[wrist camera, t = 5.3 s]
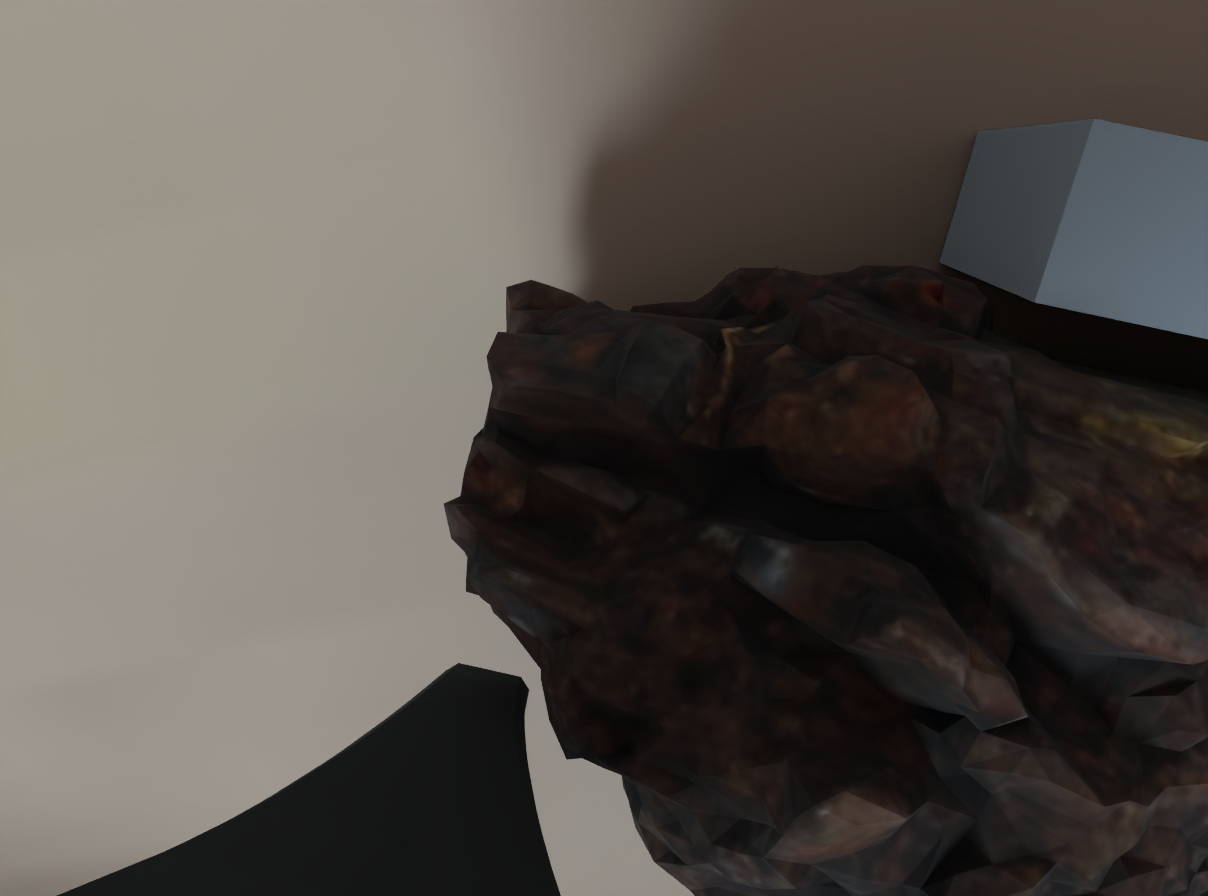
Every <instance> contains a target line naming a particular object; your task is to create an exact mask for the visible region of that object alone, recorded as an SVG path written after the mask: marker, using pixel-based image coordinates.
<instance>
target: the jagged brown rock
mask: <svg viewBox="0 0 1208 896" xmlns="http://www.w3.org/2000/svg"><path fill="white" fill-rule="evenodd" d="M506 321H507V332H498V333H497V335H496V337H495V340H494V342H493V344H492V346H491V348H490V350H489V353H488V355H487V362H488V368H489V372H490V376H491V381H492V386H493V388H492V392H491V397H490V402H489V407H488V412H487V416H486V420H485V424H484V428H483V429H482V430H481V431H480V432H479V433H478V434H477V435H476V436H475V437H474V439H473V443H472V446H471V450H470V454H469V457H468V461H467V465H466V468H465V472H464V478H463V484H462V491H461V496H460V497H458V498H455V499H453V500H451V501H449V502H447V503H444V507H445V512H446V516H447V521H448V525H449V530H450V534H451V538H452V539H453V540H454V541H455V542H456V543H457V544H458V546H459V547H460V548H461V549H462V550H463V551H464V552H465V554H466V556H467V557H468V559H467V576H466V592H470V593H473V594H477V595H479V596H480V597H481V598H482V599H483V600H485V601H486V602H487V603H488V604H490V605H491V608H492V610H493V612H494V613H495V614H496V615H497V616H498V617H499V618H500V619H501V620H502V621H503V622H504V623H505V624H506V625H507V626H508V627H509V628H510V629H511V631H512V632H513V633H514V635H515V636H516V637H517V639H518V640H519V641H520V643H521V644H522V645H523V646H524V648H525V649H526V650H527V652H528V653H529V654H530V656H531V657H532V658H533V660H534V661H535V662H536V663H537V665H538V666H539V667H540V669H541V681H542V686H543V691H544V696H545V701H546V706H547V711H548V715H549V720H550V723H551V725H552V727H553V729H554V732H555V734H556V736H557V739H558V741H559V743H560V745H561V748H562V750H563V752H564V754H565V757H566V759H577V758H583V759H585V760H587V761H590V762H592V763H594V764H596V765H598V766H601V767H603V768H605V769H608V770H610V771H613V772H615V773H618V774H620V775H622V780H623V787H624V790H625V792H626V795H627V797H628V800H629V804H630V808H631V812H632V816H633V820H634V824H635V827H636V829H637V831H638V833H639V835H640V836H641V838H642V840H643V842H644V844H645V846H646V848H647V849H648V851H649V853H650V855H651V857H652V859H653V861H654V862H655V863H656V864H658V865H659V866H660V867H661V868H663V869H664V870H665V871H666V872H668V873H669V874H670V875H671V876H673V877H674V878H675V879H677V880H678V881H679V882H680V883H682V884H683V885H684V886H685V887H687V888H688V889H689V890H690V891H691V892H692V893H693V894H694V895H695V896H1208V393H1206V392H1201V391H1196V390H1191V389H1186V388H1182V387H1177V386H1172V385H1168V384H1163V383H1158V382H1154V381H1149V380H1144V379H1140V378H1135V377H1130V376H1126V375H1121V374H1117V373H1112V372H1107V371H1103V370H1098V369H1093V368H1089V367H1084V366H1079V365H1075V364H1070V363H1065V362H1061V361H1060V360H1059V359H1058V358H1056V357H1055V356H1054V355H1053V354H1051V353H1050V352H1049V351H1048V350H1046V349H1045V348H1042V347H1038V346H1034V345H1030V344H1027V343H1023V342H1019V341H1016V340H1012V339H1009V338H1006V337H1003V336H1001V335H998V334H995V333H993V306H992V305H991V304H990V302H989V301H988V300H987V299H986V297H985V296H984V295H983V294H982V293H981V291H980V290H979V289H978V288H977V286H976V285H975V284H974V283H972V282H968V281H964V280H961V279H957V278H954V277H950V276H947V275H943V274H940V273H936V272H933V271H929V270H925V269H922V268H918V267H915V266H861V267H859V268H857V269H854V270H852V271H850V272H839V273H833V274H827V275H822V276H815V275H810V274H805V273H800V272H795V271H790V270H785V269H780V270H779V269H778V267H777V266H776V267H775V268H740V269H738V270H736V271H734V272H733V273H731V274H729V275H727V276H726V277H725V278H724V279H723V280H722V281H721V282H720V283H719V284H718V285H717V286H716V287H715V288H714V289H713V290H712V291H711V292H709V293H708V294H706V295H704V296H703V297H701V298H700V299H698V300H697V301H695V302H675V303H660V304H651V305H641V306H633V308H632V309H631V311H630V312H629V311H618V310H613V309H611V308H609V307H608V306H606V305H604V304H603V303H601V302H599V301H594V302H590V303H588V302H586V301H584V300H582V299H581V298H579V297H577V296H576V295H574V294H572V293H569V292H566V291H564V290H561V289H558V288H555V287H552V286H549V285H546V284H542V283H539V282H536V281H533V280H529V281H526V282H523V283H519V284H516V285H512V286H509V287H507V291H506Z"/></svg>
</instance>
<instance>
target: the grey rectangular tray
mask: <svg viewBox="0 0 1208 896" xmlns="http://www.w3.org/2000/svg"><path fill="white" fill-rule="evenodd" d="M940 263H942V264H944V265H947V266H949V267H952V268H954V269H956V270H959V271H961V272H963V273H966V274H968V275H971V276H973V277H975V278H978V279H980V280H982V281H985V282H987V283H990V284H992V285H994V286H997V287H999V288H1001V289H1004V290H1006V291H1009V292H1011V293H1013V294H1016V295H1018V296H1020V297H1023V298H1025V299H1028V300H1030V301H1032V302H1035V303H1040V304H1044V305H1049V306H1054V307H1059V308H1063V309H1068V310H1073V311H1077V312H1082V313H1087V314H1092V315H1096V316H1101V317H1106V318H1110V319H1115V320H1120V321H1124V322H1129V323H1134V324H1139V325H1143V326H1148V327H1153V328H1157V329H1162V330H1167V331H1172V332H1176V333H1181V334H1186V335H1190V336H1195V337H1200V338H1205V339H1208V142H1207V141H1202V140H1197V139H1192V138H1187V137H1182V136H1178V135H1173V134H1168V133H1163V132H1158V131H1153V130H1149V129H1144V128H1139V127H1134V126H1129V125H1124V124H1119V123H1115V122H1110V121H1105V120H1100V119H1095V118H1093V119H1084V120H1075V121H1066V122H1056V123H1047V124H1038V125H1029V126H1020V127H1011V128H1001V129H992V130H983V131H978V133H977V136H976V140H975V143H974V147H973V150H972V153H971V157H970V160H969V164H968V167H967V170H966V174H965V177H964V181H963V184H962V187H961V191H960V194H959V197H958V201H957V204H956V208H955V211H954V214H953V218H952V221H951V225H950V228H949V231H948V235H947V238H946V241H945V245H944V248H943V252H942V255H941V258H940Z"/></svg>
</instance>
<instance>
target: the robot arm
mask: <svg viewBox="0 0 1208 896" xmlns="http://www.w3.org/2000/svg"><path fill="white" fill-rule="evenodd" d="M528 693H529V689H528V687H527V686H526V684H525V683H524V681H523V680H522V678H521V677H519V676H514V675H510V674H505V673H501V672H496V671H492V670H487V669H483V668H478V667H474V666H469V665H465V664H460V663H458V664H456V665H455V666H453V667H451V668H450V669H448V670H446V671H445V672H444V673H443V674H441V675H440V676H439V677H438V678H437V679H435V680H434V681H433V682H432V683H431V684H429V685H428V686H427V687H426V688H425V689H423V690H422V691H421V692H420V693H418V694H417V695H416V696H415V697H413V698H412V699H411V700H410V701H409V702H407V703H406V704H405V705H403V706H402V707H401V708H400V709H398V710H397V711H396V712H394V713H393V714H392V715H391V716H389V717H388V718H387V719H385V720H384V721H383V722H381V723H380V724H378V725H377V726H376V727H374V728H373V729H372V730H370V731H369V732H367V733H366V734H365V735H363V736H362V737H360V738H359V739H358V740H356V741H355V742H354V743H352V744H351V745H349V746H348V747H347V748H345V749H344V750H342V751H341V752H340V753H338V754H337V755H335V756H334V757H332V758H331V759H329V760H328V761H326V762H325V763H323V764H321V765H320V766H318V767H317V768H315V769H314V770H312V771H310V772H309V773H307V774H306V775H304V776H302V777H301V778H299V779H298V780H296V781H295V782H293V783H291V784H290V785H288V786H287V787H285V788H283V789H282V790H280V791H279V792H277V793H275V794H274V795H272V796H271V797H269V798H267V799H266V800H264V801H262V802H260V803H259V804H257V805H255V806H253V807H252V808H250V809H248V810H246V811H245V812H243V813H241V814H239V815H237V816H236V817H234V818H232V819H230V820H228V821H226V822H224V823H222V824H220V825H218V826H216V827H214V828H212V829H210V830H208V831H206V832H204V833H202V834H200V835H198V836H196V837H194V838H192V839H190V840H188V841H186V842H184V843H182V844H180V845H178V846H176V847H173V848H171V849H169V850H167V851H165V852H162V853H160V854H158V855H155V856H153V857H150V858H148V859H145V860H143V861H140V862H138V863H136V864H133V865H131V866H128V867H126V868H123V869H121V870H118V871H116V872H114V873H111V874H109V875H106V876H104V877H101V878H99V879H96V880H94V881H92V882H89V883H87V884H84V885H82V886H79V887H77V888H74V889H72V890H70V891H67V892H65V893H62V894H60V895H57V896H561V895H560V892H559V889H558V886H557V883H556V880H555V877H554V874H553V871H552V867H551V864H550V860H549V857H548V853H547V850H546V846H545V843H544V839H543V835H542V832H541V827H540V823H539V819H538V815H537V811H536V806H535V800H534V795H533V790H532V784H531V779H530V773H529V768H528V760H527V753H526V741H525V721H524V715H525V708H526V703H527V698H528Z"/></svg>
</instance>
